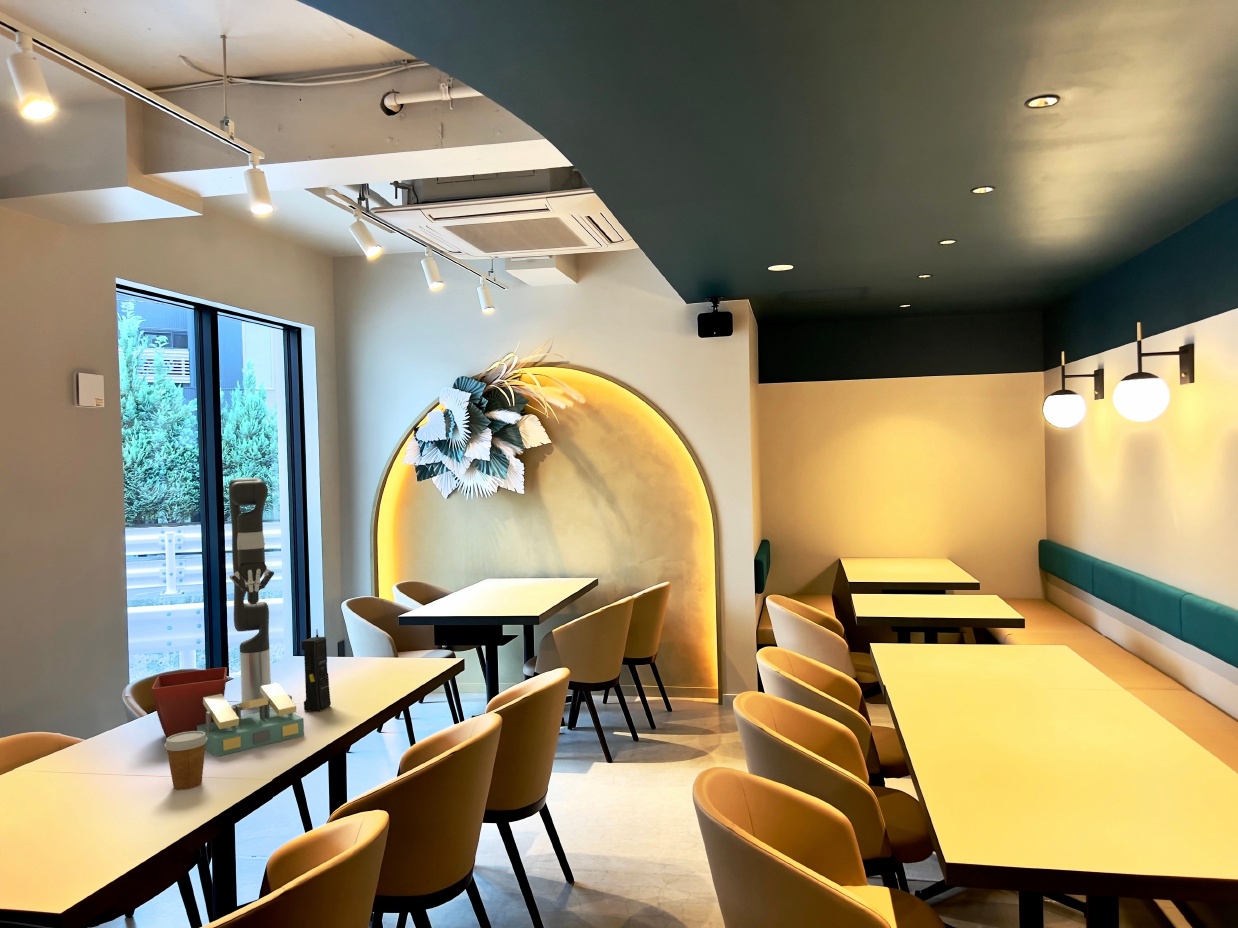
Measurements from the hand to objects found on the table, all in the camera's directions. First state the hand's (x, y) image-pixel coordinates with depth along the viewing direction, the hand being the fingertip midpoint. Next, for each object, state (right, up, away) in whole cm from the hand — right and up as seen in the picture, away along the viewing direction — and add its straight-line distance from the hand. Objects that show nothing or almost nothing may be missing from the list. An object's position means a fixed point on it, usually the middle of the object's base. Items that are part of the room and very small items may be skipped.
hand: (253, 603), depth 259 cm
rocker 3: (+11, -27, -8) cm, 30 cm away
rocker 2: (+5, -28, -13) cm, 31 cm away
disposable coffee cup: (+5, -37, -48) cm, 61 cm away
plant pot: (-16, -38, -5) cm, 41 cm away
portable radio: (+14, -37, +16) cm, 42 cm away
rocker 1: (-1, -27, -18) cm, 33 cm away
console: (+5, -37, -13) cm, 39 cm away
